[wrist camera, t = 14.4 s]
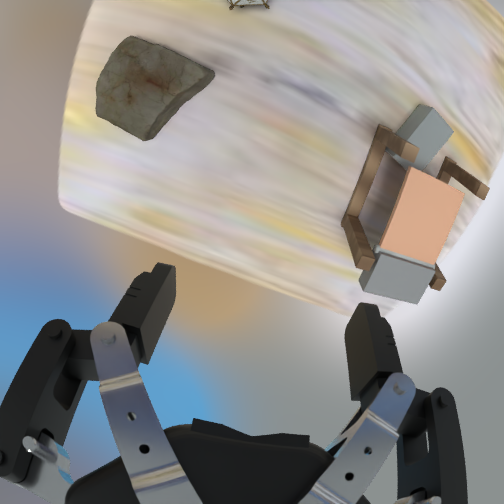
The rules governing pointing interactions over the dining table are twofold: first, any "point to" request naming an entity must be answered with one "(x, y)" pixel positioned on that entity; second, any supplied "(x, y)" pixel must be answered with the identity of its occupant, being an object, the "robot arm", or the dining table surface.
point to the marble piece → (146, 86)
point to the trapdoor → (412, 238)
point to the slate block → (423, 136)
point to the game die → (247, 3)
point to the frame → (350, 220)
